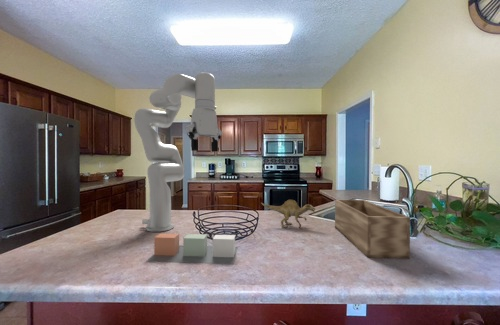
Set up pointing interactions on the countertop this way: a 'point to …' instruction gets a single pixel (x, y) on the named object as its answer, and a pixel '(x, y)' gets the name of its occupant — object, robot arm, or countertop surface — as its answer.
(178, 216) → the countertop surface
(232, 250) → the offwhite brick
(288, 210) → the dinosaur figurine
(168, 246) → the terracotta brick
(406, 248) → the toy crate
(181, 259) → the baseplate
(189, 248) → the sage brick
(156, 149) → the robot arm
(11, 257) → the countertop surface
